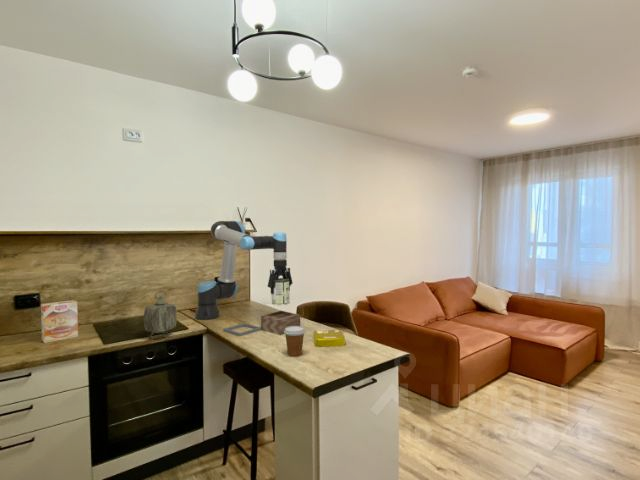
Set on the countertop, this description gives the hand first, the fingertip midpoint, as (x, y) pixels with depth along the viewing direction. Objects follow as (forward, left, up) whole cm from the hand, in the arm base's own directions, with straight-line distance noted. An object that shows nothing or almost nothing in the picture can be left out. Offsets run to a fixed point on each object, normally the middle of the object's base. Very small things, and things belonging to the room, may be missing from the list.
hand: (280, 297), depth 203 cm
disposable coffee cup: (+35, -24, -18) cm, 46 cm away
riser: (0, 0, -18) cm, 18 cm away
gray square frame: (-15, -16, -18) cm, 29 cm away
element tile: (+36, 0, -19) cm, 40 cm away
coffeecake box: (-79, -87, -18) cm, 119 cm away
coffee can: (0, 0, -3) cm, 3 cm away
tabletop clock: (-39, -51, -18) cm, 67 cm away
